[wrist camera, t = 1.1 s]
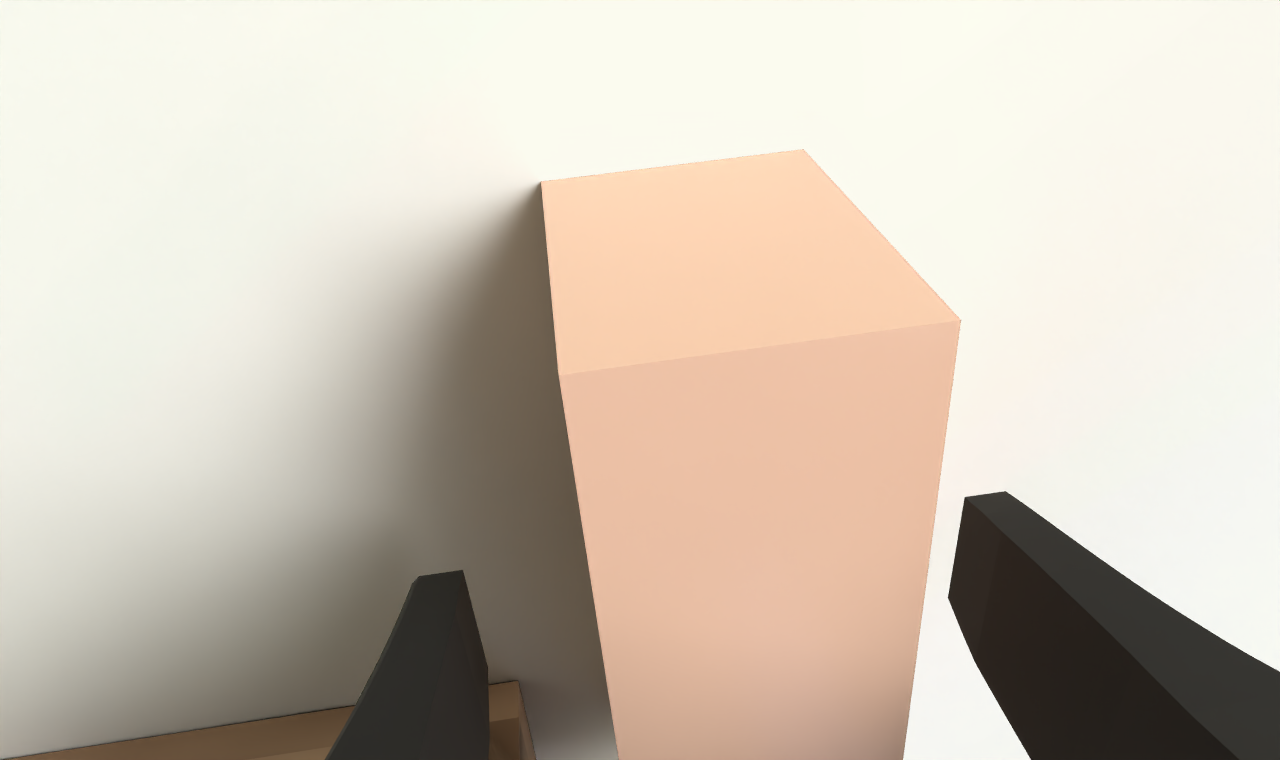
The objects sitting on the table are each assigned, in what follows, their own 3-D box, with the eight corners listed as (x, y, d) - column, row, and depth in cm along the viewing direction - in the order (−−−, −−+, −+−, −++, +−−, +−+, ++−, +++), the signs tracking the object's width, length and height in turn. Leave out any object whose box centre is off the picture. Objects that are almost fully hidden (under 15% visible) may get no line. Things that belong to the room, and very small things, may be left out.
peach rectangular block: (790, 680, 18) (878, 945, 14) (619, 708, 17) (654, 985, 13) (799, 145, 12) (961, 319, 8) (540, 177, 12) (559, 375, 7)
